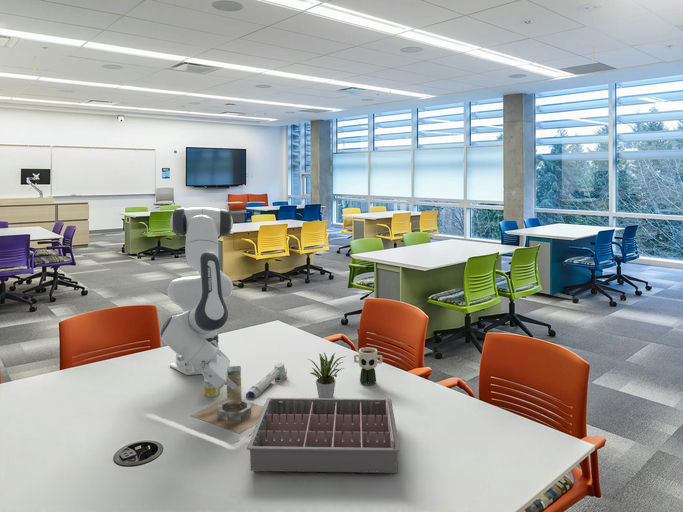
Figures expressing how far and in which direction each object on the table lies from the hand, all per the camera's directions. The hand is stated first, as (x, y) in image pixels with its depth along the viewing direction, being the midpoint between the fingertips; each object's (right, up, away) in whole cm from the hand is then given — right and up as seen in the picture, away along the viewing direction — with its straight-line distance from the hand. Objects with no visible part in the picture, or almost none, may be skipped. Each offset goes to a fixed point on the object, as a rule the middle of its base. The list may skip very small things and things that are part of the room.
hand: (235, 383), depth 165 cm
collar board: (-1, -11, +2) cm, 11 cm away
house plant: (+30, -9, +16) cm, 36 cm away
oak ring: (-4, -9, +10) cm, 14 cm away
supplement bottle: (-12, -9, +17) cm, 23 cm away
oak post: (-1, -6, +1) cm, 6 cm away
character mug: (+45, -7, +29) cm, 54 cm away
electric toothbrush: (+7, -8, +25) cm, 27 cm away
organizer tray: (+30, -14, -17) cm, 37 cm away
